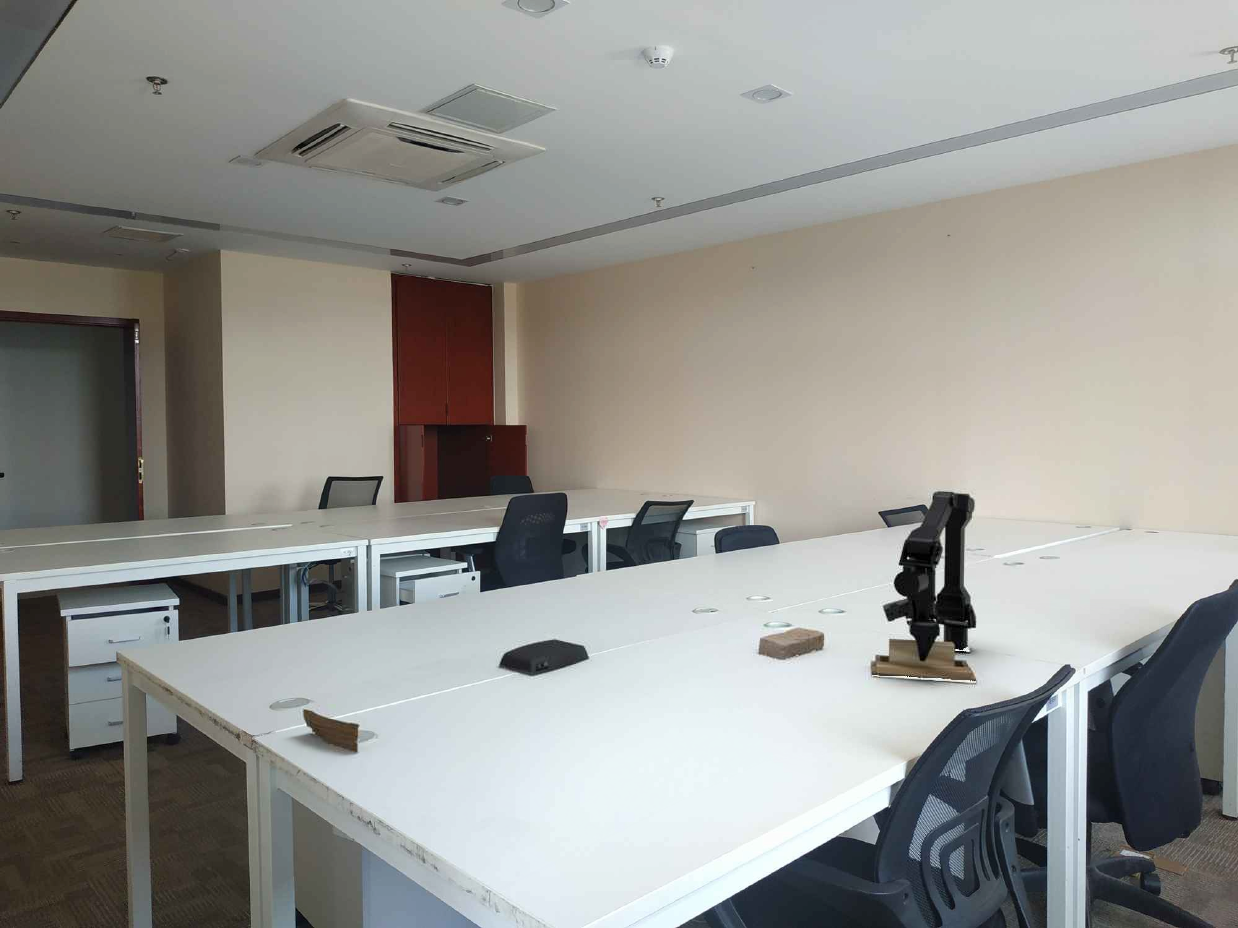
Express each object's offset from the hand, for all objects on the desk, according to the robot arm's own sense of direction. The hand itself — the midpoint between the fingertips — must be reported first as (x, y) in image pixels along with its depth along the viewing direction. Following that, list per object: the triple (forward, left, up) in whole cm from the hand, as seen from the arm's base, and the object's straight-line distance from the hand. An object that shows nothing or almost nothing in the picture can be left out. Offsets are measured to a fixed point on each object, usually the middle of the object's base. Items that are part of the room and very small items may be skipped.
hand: (921, 657), depth 197 cm
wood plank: (+73, -106, -4) cm, 129 cm away
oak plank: (0, 0, -2) cm, 2 cm away
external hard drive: (+14, -87, -4) cm, 88 cm away
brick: (-11, -30, -4) cm, 32 cm away
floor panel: (+2, 0, -4) cm, 4 cm away
